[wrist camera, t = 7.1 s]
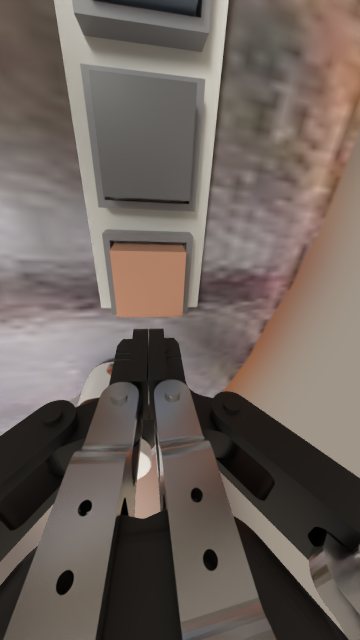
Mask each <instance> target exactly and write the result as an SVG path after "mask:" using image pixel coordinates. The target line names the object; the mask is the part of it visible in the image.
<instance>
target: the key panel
mask: <svg viewBox="0 0 360 640" xmlns="http://www.w3.org/2000/svg"><path fill="white" fill-rule="evenodd" d="M228 2H229V0H198V3H197V7H196V11H195V15H194V17H193V16H187V15H181V14H175V13H168V12H162V11H156V10H150V9H143V8H137V7H131V6H125V5H118V4H112V3H106V2H100V1H93V0H54V4H55V11H56V17H57V23H58V30H59V36H60V43H61V49H62V56H63V62H64V69H65V75H66V82H67V88H68V95H69V101H70V108H71V114H72V121H73V127H74V133H75V140H76V146H77V153H78V159H79V166H80V172H81V179H82V185H83V192H84V198H85V205H86V211H87V218H88V224H89V230H90V237H91V243H92V250H93V256H94V263H95V269H96V276H97V282H98V289H99V295H100V302H101V308H111V309H112V314H117V310H116V302H115V293H114V284H113V276H112V267H111V258H110V249H111V248H112V246H113V245H114V243H119V244H157V245H183V247H184V249H185V251H186V266H185V281H184V297H183V313H187V311H188V307H197V304H198V294H199V284H200V275H201V265H202V255H203V245H204V236H205V226H206V216H207V206H208V197H209V187H210V177H211V167H212V158H213V148H214V138H215V129H216V119H217V109H218V99H219V90H220V80H221V70H222V60H223V51H224V41H225V31H226V22H227V12H228ZM89 70H97V71H105V72H113V73H121V74H129V75H138V76H146V77H154V78H162V79H171V80H179V81H187V82H195V83H197V95H196V110H195V126H194V142H193V157H192V173H191V188H190V201H181V200H162V199H143V198H123V197H104V196H103V189H102V180H101V171H100V162H99V154H98V145H97V136H96V128H95V119H94V110H93V101H92V93H91V84H90V75H89Z"/></svg>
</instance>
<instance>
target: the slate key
mask: <svg viewBox="0 0 360 640" xmlns="http://www.w3.org/2000/svg"><path fill="white" fill-rule="evenodd" d="M93 1H100V2H106V3H112V4H118V5H125V6H131V7H137V8H143V9H150V10H156V11H162V12H168V13H175V14H181V15H187V16H193V17H194V15H195V11H196V7H197V3H198V0H93Z"/></svg>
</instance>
